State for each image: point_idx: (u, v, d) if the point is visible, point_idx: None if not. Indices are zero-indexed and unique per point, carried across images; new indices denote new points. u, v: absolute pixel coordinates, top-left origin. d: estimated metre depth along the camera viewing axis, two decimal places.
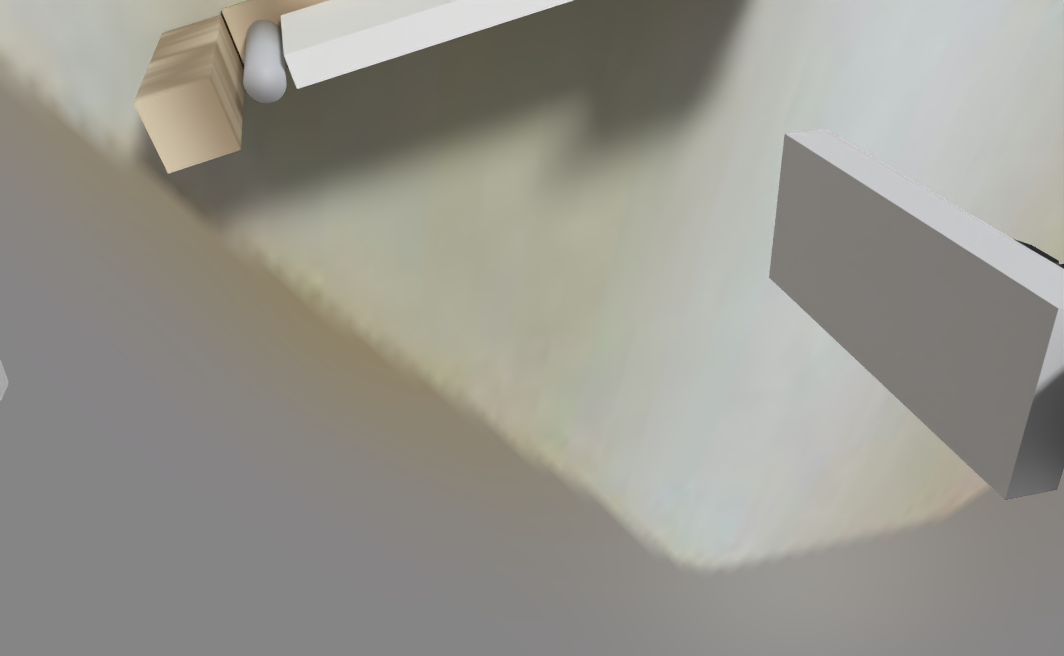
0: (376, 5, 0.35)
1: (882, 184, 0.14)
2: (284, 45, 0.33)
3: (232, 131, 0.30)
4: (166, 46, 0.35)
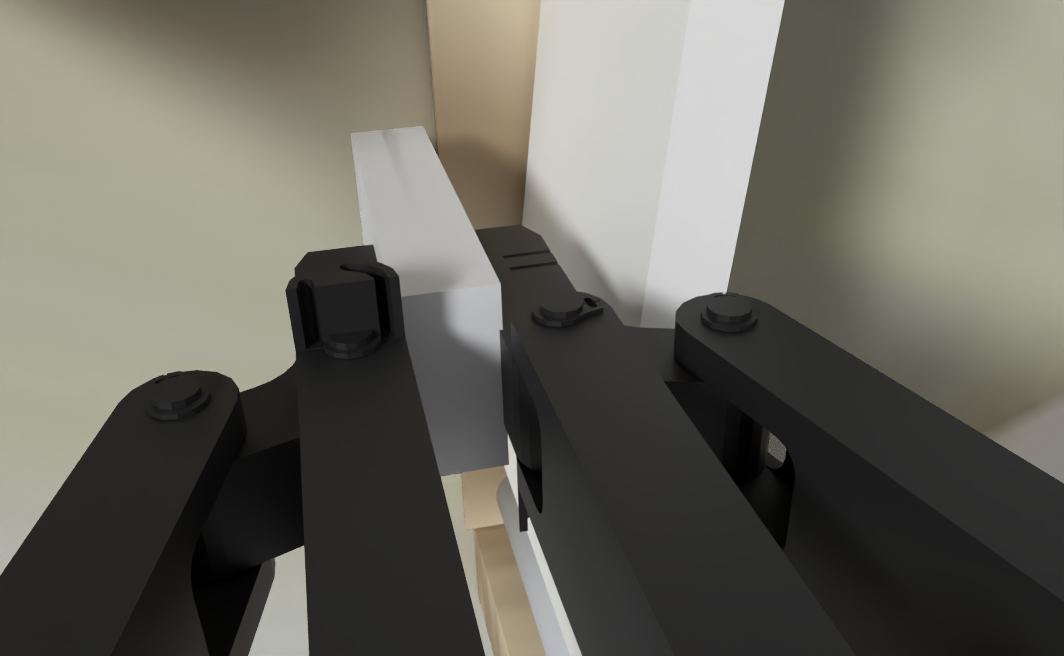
0: None
1: (415, 178, 0.15)
2: (561, 628, 0.18)
3: None
4: None
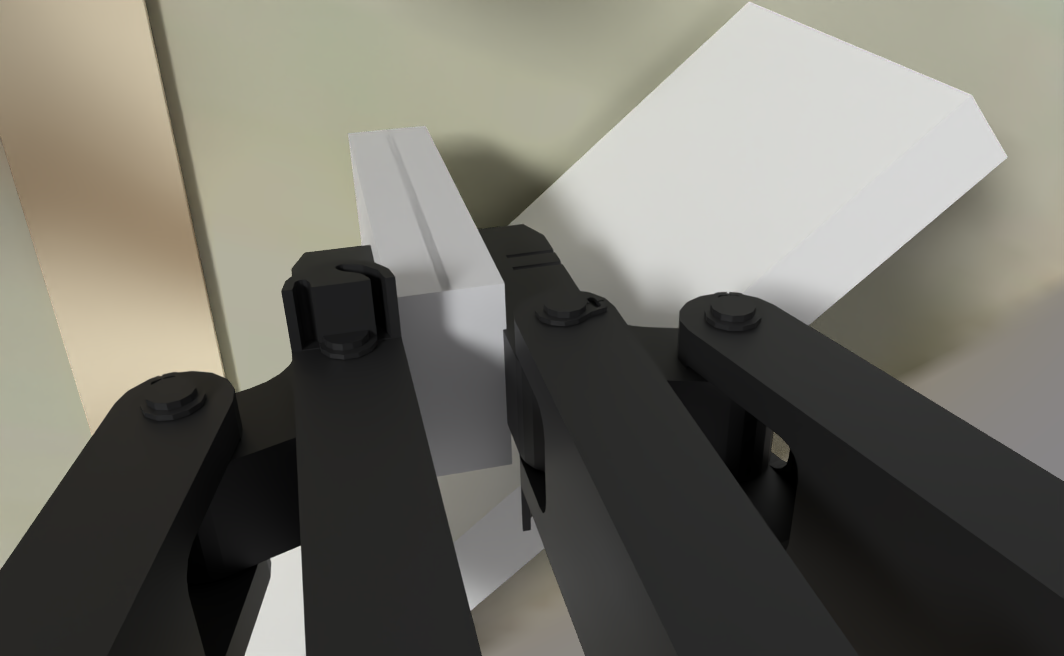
0: None
1: (418, 177, 0.15)
2: None
3: None
4: None
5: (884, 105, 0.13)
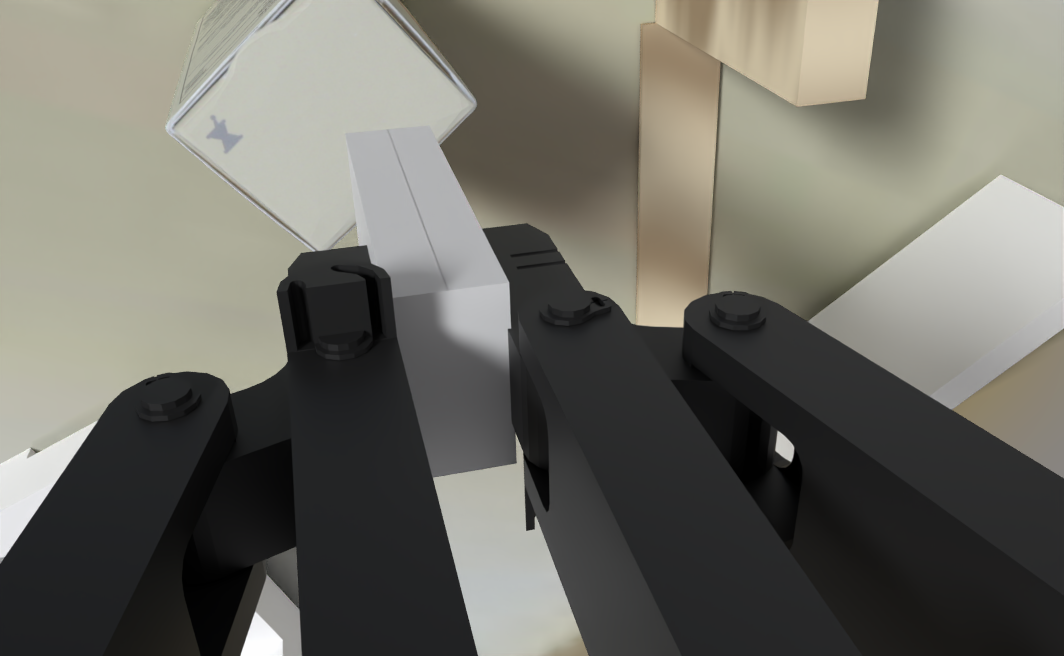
0: None
1: (422, 177, 0.15)
2: None
3: None
4: None
5: None
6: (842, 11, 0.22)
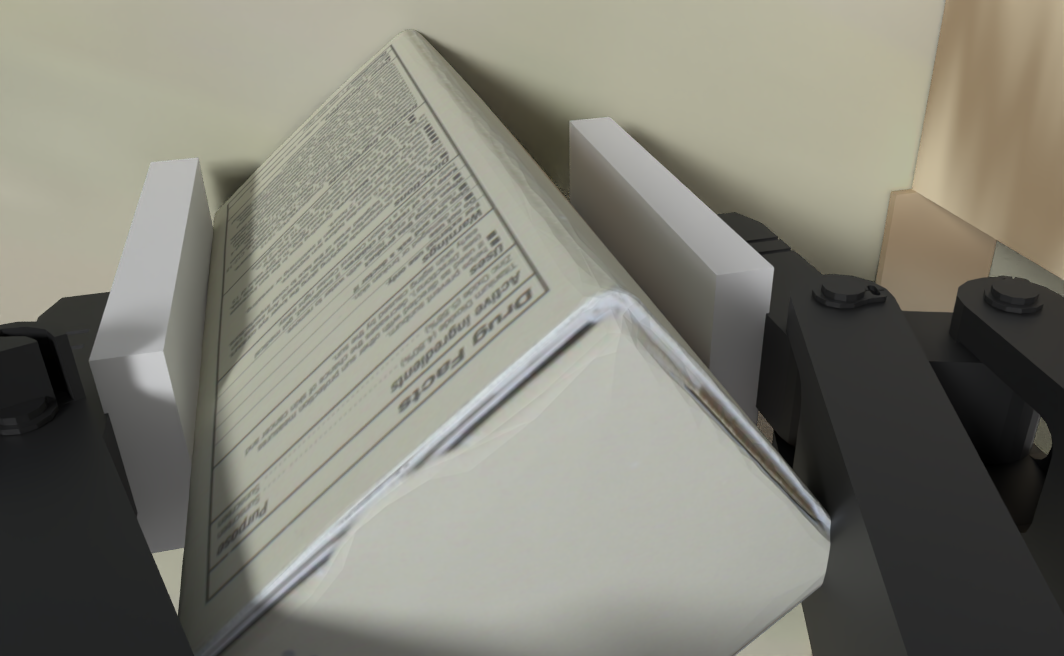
0: None
1: (630, 166, 0.15)
2: None
3: None
4: None
5: None
6: None
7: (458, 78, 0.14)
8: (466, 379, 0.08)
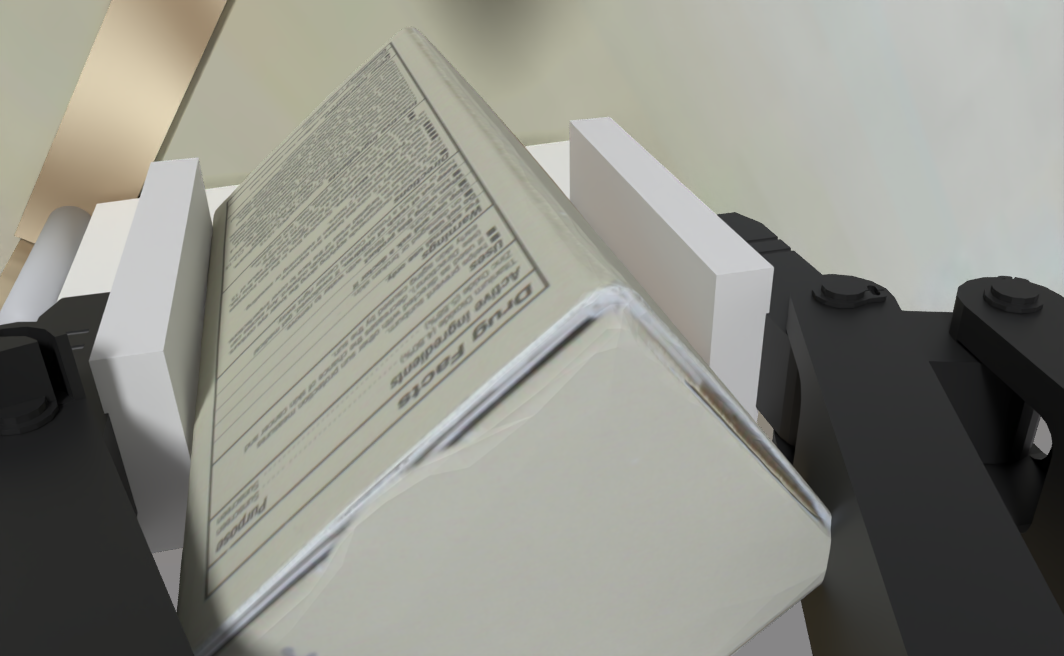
0: None
1: (630, 166, 0.15)
2: (69, 275, 0.25)
3: None
4: None
5: None
6: None
7: (458, 75, 0.14)
8: (466, 374, 0.08)
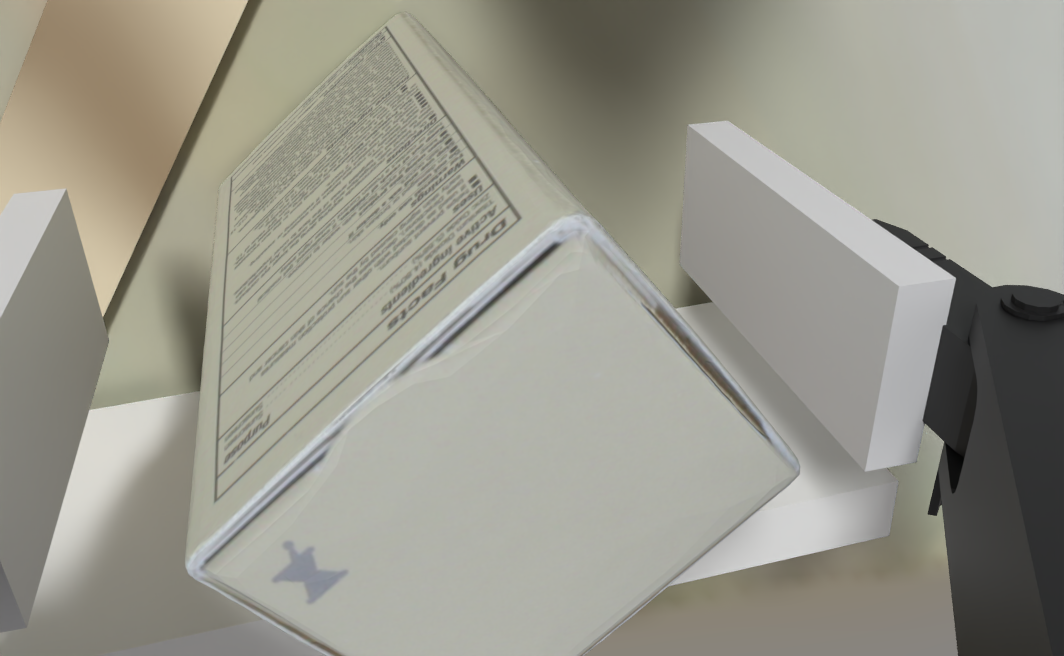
0: (166, 506, 0.16)
1: (767, 172, 0.14)
2: None
3: None
4: None
5: (828, 448, 0.17)
6: None
7: (448, 55, 0.15)
8: (447, 295, 0.09)
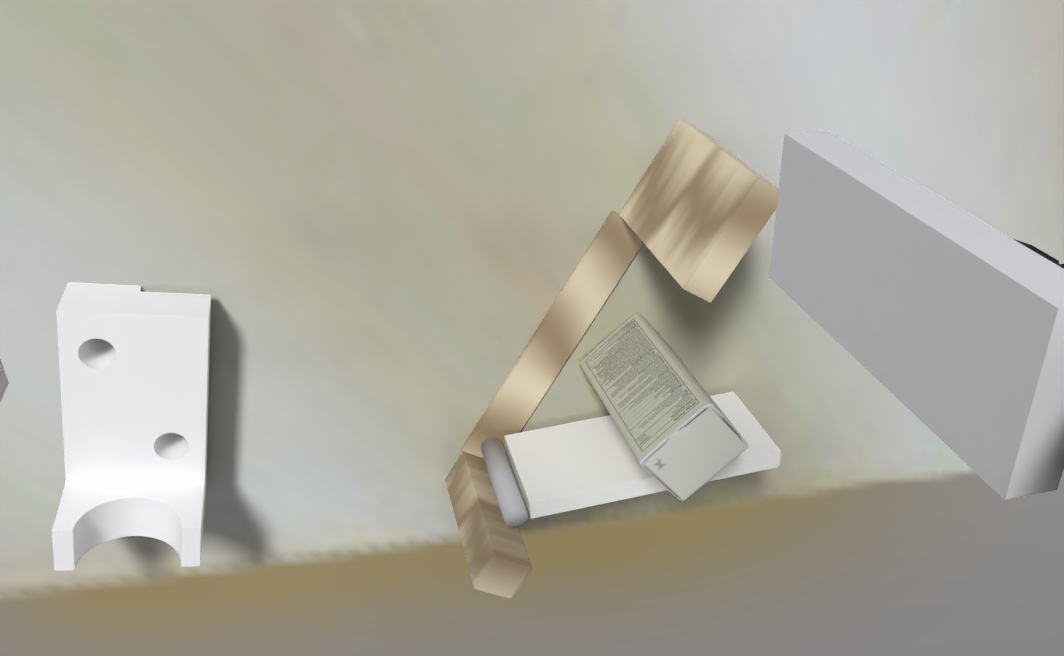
0: (575, 458, 0.58)
1: (882, 184, 0.14)
2: (524, 487, 0.56)
3: (522, 564, 0.53)
4: (456, 503, 0.59)
5: (762, 442, 0.58)
6: (721, 260, 0.47)
7: (657, 335, 0.57)
8: (686, 416, 0.50)
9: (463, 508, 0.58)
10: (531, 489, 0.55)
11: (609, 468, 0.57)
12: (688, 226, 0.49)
